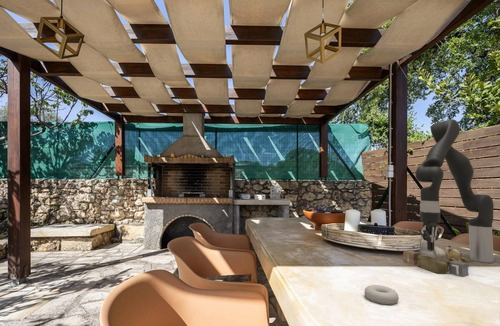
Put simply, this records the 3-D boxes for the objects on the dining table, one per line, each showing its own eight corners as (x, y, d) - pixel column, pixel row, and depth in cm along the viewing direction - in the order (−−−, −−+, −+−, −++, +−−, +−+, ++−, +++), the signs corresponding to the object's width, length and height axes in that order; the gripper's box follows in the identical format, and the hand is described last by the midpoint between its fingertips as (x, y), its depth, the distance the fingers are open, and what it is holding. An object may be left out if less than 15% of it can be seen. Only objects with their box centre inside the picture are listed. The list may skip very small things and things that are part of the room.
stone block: (438, 274, 115) (438, 262, 116) (415, 266, 127) (415, 255, 127) (450, 274, 117) (449, 261, 117) (426, 266, 128) (426, 254, 129)
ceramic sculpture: (437, 241, 142) (473, 248, 130) (436, 257, 142) (472, 267, 130) (429, 243, 136) (466, 251, 124) (428, 261, 136) (465, 271, 124)
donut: (374, 291, 96) (358, 297, 90) (374, 281, 96) (358, 286, 90) (404, 301, 88) (389, 309, 82) (404, 290, 88) (389, 297, 82)
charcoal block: (454, 272, 119) (454, 260, 120) (468, 275, 115) (468, 263, 115) (448, 273, 117) (448, 261, 117) (462, 277, 112) (461, 264, 113)
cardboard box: (409, 260, 136) (409, 250, 136) (420, 263, 132) (419, 252, 132) (403, 261, 134) (403, 251, 134) (413, 264, 129) (413, 253, 130)
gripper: (430, 210, 130) (430, 247, 129) (412, 210, 124) (413, 249, 123) (447, 211, 123) (448, 251, 122) (429, 212, 117) (430, 253, 116)
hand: (430, 250), depth 122 cm, fingers closed
